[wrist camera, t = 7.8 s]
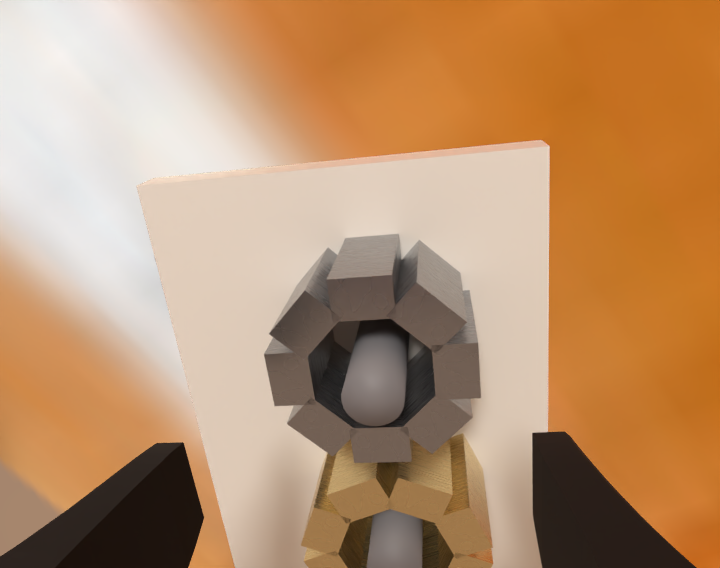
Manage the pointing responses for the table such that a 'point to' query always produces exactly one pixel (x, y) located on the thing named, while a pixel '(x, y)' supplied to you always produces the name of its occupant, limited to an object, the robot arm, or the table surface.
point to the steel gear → (330, 360)
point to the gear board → (356, 325)
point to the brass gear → (401, 507)
